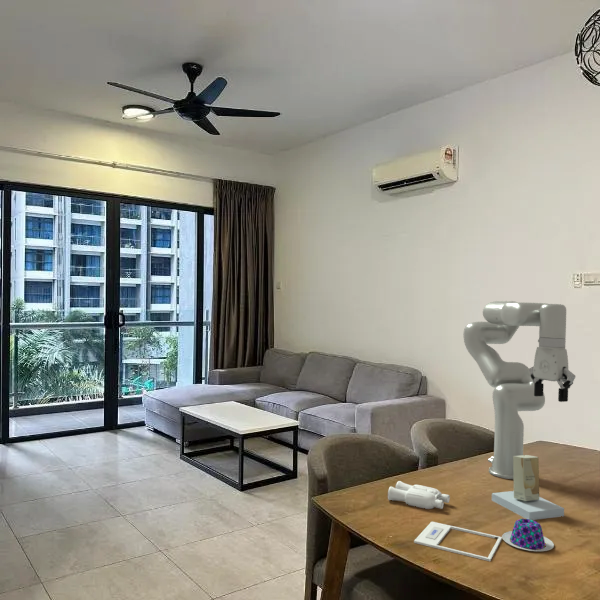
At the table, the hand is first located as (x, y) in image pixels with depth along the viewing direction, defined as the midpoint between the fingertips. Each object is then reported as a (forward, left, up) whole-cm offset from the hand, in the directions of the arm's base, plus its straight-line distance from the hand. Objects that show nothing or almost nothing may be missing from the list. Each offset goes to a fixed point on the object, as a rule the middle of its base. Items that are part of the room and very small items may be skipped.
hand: (550, 398), depth 176 cm
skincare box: (+6, -14, -28) cm, 32 cm away
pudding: (+25, -32, -31) cm, 51 cm away
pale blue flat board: (+6, -14, -31) cm, 35 cm away
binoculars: (-7, -42, -31) cm, 53 cm away
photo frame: (+19, -48, -31) cm, 60 cm away
